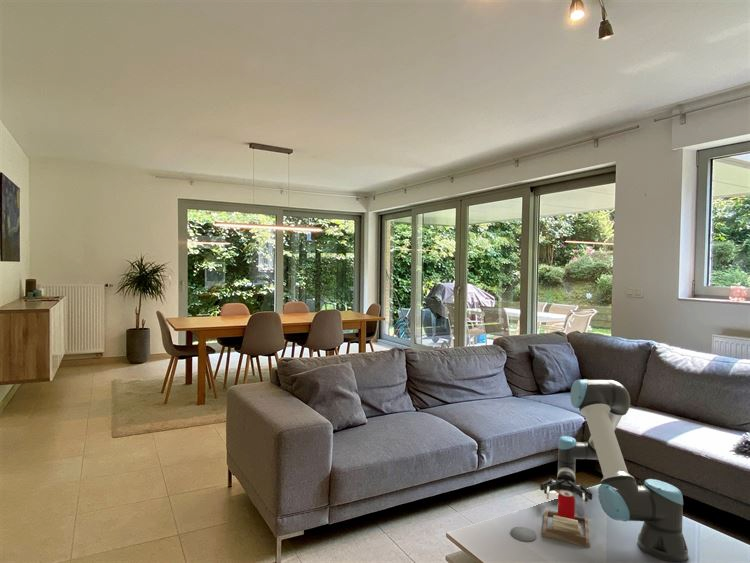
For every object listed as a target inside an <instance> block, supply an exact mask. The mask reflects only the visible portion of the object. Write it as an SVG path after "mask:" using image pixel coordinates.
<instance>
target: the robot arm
mask: <svg viewBox="0 0 750 563" xmlns="http://www.w3.org/2000/svg"><path fill="white" fill-rule="evenodd" d="M570 403H571V405H572V406H573V408H575V409H578V410H579V412H580V415H581V416H583V417H585V419H586V422H587V425H588V429H589V433H590V436H589V439H588V441H577V439H576V438H574V437H573V436H568V435H564V436H563V435H562V436H560V437H559V439H558V447H557V449H558V450H557V452H558V453H557V455H558V459H557V460H558V461H557V477H556V480H554V479H553V478H552V477H549V478H548V480H545V481H543V482H541V483H540V491H544V494H546V500H549V498H550V492H553V491H561V490H567V491H570V492H572V493H573V494H576V495H577V496H579V497H580V498H582V507H586V502H588V501H589V500H590V501H592V500H593V493H592V492H591V491H590V490H589V489H588V488H587V487H586V486H584V484H583V483H579V485H578V484H577V482H576V464H577V463H576V462H577V460H598V462H599V466H600V468H601V469H600V470H601V474H602V476H603V477H602V479H601V480H600V485H599V486H598V488H597V493H598V495H597V496H598V502H599V504H600V507H601V508H602V510H603V512H604V513H605V515H606V516H607V517H609V518H610V519H611V520H614V521H621V522H643V524H642V527H641V529H640V532H639V533H638V535H637V545H638V546H639V548H640V549H641V550H642V551H644V552H645V553H647V555H650V556H652V557H654V558H657V559H660V560H663V561H667V562H674V563H680V562H684V561H687V560H688V558H689V549H688V546H687V543H686V540H685V536H684V534H683V517H684V516H683V511H684V510H683V508H684V507H683V506H684V498H683V493H682V491H681V490H680V489H679V488H678V487H676V486H674V485H673V484H670V483H668V482H665V481H662V480H659V479H655V478H654V479H653V478H646V479H645V480H644V481H643V484H642V485H640V484H637V481H636V479H635V477H634V476H633V475H631V474H630V473H629V471H628V468H627V466H626V463H625V459H624V456H623V454H622V451H621V447H620V445H619V441H618V438H617V436H616V434H615V431H616V430H617V427H618V425H619V424H620V422H621V419H622V417H623V416H626V414H627V413H628V411H629V410H630V407H631V396H630V394H629V392H628V390H627V388H626V387H625V386H624V385H623V384H621V383H620V382H619V381H616V380H613V379H588V378H584V379H576V380H574V381H573V383H572V385H571V388H570Z"/></svg>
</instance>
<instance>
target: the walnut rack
mask: <svg viewBox="0 0 750 563" xmlns="http://www.w3.org/2000/svg"><path fill="white" fill-rule="evenodd" d="M553 515H555V516H558V511H554V510H549V509H544V516H543V523H542V533H541V534H542V537H544V538H547V539H552V540H557V541H562V542H566V543H570V544H574V545H578V546H583V547H587V548H590V547H591V546H590V528H589V525H590V524H589V518H588V517H583V516H578V515H575V520H578V523H584V532H585V535H582V534H581V535H578V534H573V533H569V532H564V531H560V530H555V529H552V528H550V527H548V519H549V518H548V516H549V517H550V516H551V517H553Z"/></svg>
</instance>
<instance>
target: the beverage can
mask: <svg viewBox="0 0 750 563" xmlns="http://www.w3.org/2000/svg"><path fill="white" fill-rule="evenodd" d="M558 491H559V492H558V494H557V512H558V516H560V517H564V518H569V519H574V520H575V516H576V515H575V514H576V510H575V509H576V507H575V506H576V497H575V493H572V492H571V491H567V490H558Z"/></svg>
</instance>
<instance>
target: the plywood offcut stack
mask: <svg viewBox="0 0 750 563" xmlns="http://www.w3.org/2000/svg"><path fill="white" fill-rule="evenodd" d="M551 529H555V530H560V531H564V532H569V533H573V534H578V535H582V526H581V525H580V526H579V522H578V520H574V519H569V518H564V517H560V516H555V515H553V516H552V525H551Z"/></svg>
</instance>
